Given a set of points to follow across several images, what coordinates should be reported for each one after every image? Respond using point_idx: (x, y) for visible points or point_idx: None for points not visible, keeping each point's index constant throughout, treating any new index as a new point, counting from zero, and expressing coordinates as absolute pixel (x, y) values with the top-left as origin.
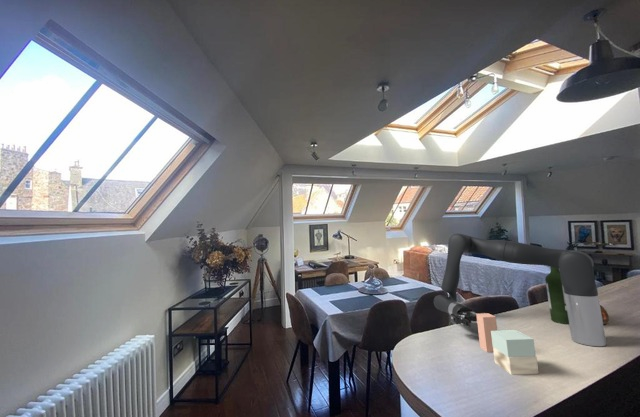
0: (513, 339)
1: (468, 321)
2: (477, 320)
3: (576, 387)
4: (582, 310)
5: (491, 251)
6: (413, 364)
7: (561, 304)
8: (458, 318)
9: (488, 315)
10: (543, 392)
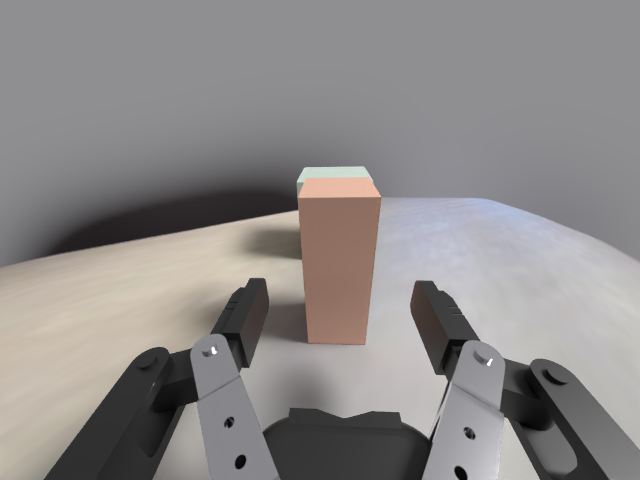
0: (347, 167)
1: (423, 281)
2: (376, 232)
3: (289, 213)
4: None
5: None
6: (593, 263)
7: None
8: (529, 394)
9: (325, 184)
10: None
